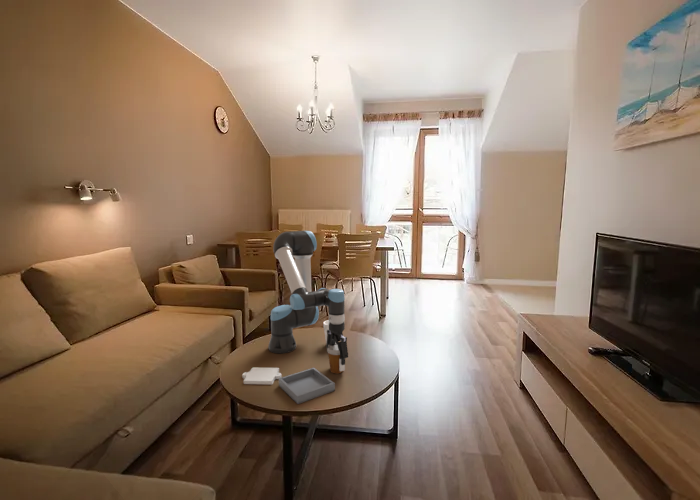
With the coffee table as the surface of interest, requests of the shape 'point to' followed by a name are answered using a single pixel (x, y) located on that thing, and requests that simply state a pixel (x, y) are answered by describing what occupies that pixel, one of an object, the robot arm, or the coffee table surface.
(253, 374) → the mounting plate
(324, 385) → the slate tray
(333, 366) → the disposable coffee cup
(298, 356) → the coffee table surface
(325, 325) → the foam cup
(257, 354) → the coffee table surface
